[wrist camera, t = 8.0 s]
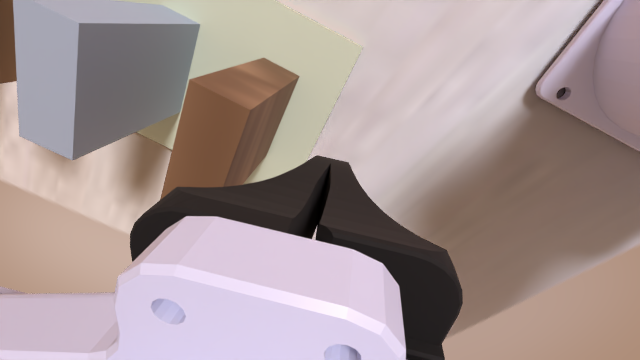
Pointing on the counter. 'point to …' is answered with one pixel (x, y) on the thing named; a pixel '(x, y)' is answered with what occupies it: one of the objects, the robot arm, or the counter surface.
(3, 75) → the tile
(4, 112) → the counter surface
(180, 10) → the mat
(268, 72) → the tile
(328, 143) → the counter surface
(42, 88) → the tile
